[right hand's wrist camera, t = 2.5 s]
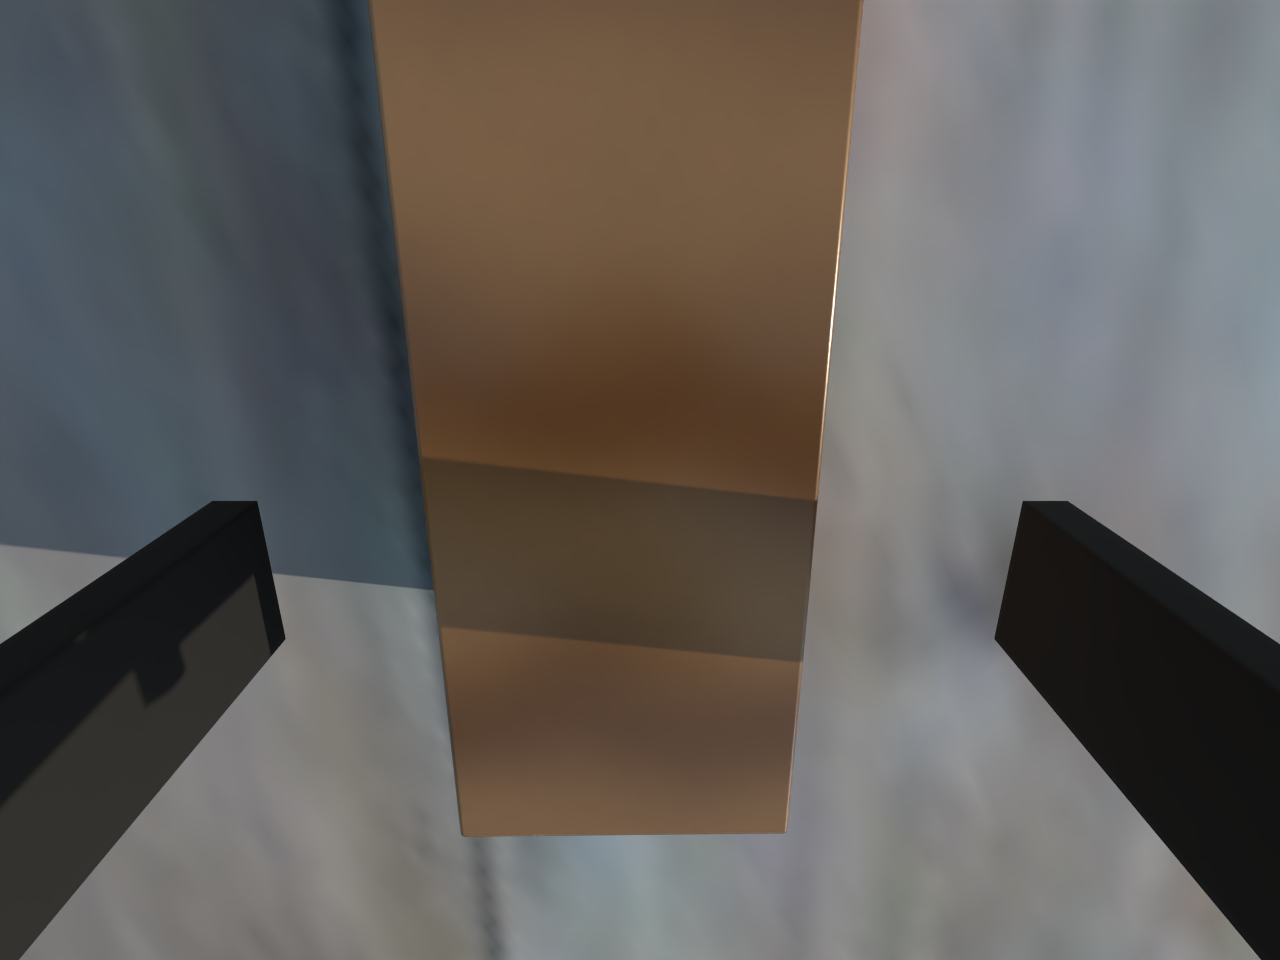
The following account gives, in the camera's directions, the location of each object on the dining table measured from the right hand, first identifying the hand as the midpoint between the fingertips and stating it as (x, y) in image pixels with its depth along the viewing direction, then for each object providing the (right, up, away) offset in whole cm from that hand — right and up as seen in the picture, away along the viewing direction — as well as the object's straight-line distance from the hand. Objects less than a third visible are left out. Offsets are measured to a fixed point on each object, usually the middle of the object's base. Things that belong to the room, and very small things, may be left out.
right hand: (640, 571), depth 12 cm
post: (0, +34, -5) cm, 35 cm away
